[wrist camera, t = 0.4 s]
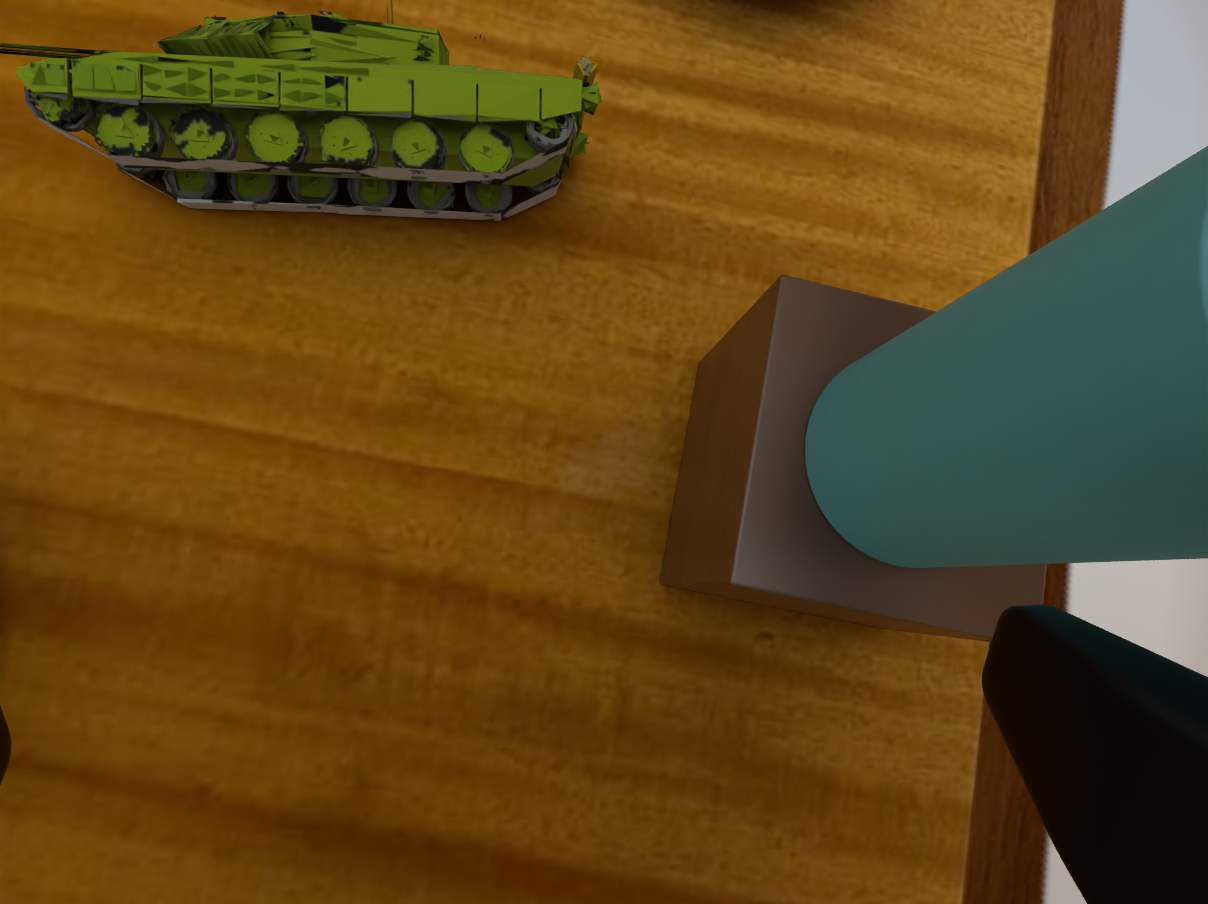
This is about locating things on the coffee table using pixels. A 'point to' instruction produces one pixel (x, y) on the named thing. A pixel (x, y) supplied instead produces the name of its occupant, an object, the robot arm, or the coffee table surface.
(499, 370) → the coffee table surface
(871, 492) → the wooden doll
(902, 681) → the coffee table surface
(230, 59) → the toy tank
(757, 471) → the walnut block
